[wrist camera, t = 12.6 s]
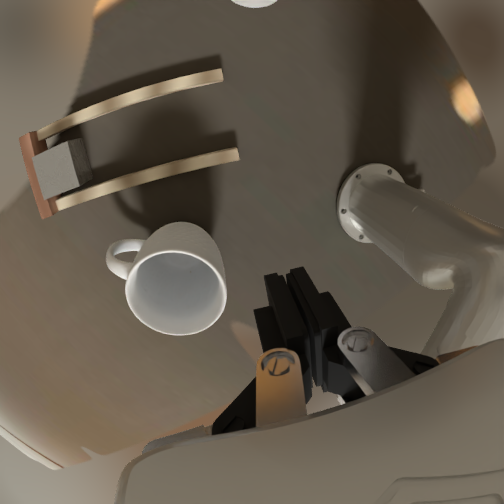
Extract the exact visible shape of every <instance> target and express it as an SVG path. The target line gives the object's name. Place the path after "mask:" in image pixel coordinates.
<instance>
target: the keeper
mask: <svg viewBox="0 0 504 504" xmlns="http://www.w3.org/2000/svg"><path fill="white" fill-rule="evenodd" d="M32 161H33V164H34V168H35V172H36V175H37V179H38V182H39V185H40V189H41V192H42V195H43V198H44V200H46V199H48V198H51V197H53V196H56V195H58V194H61V193H63V192H66V191H68V190H71V189H74V188H76V187H79V186H81V185H83V184H84V183H86V182H88V181H89V180H91V179H93V176H92V172H91V169H90V165H89V162H88V158H87V154H86V150H85V146H84V142H83V138H79V139H74V140H70V141H66V142H64V143H62V144H59V145H57V146H55V147H53V148H51V149H49V150H46V151H44V152H42V153H40V154H38V155H36V156H34V157H32Z"/></svg>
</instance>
